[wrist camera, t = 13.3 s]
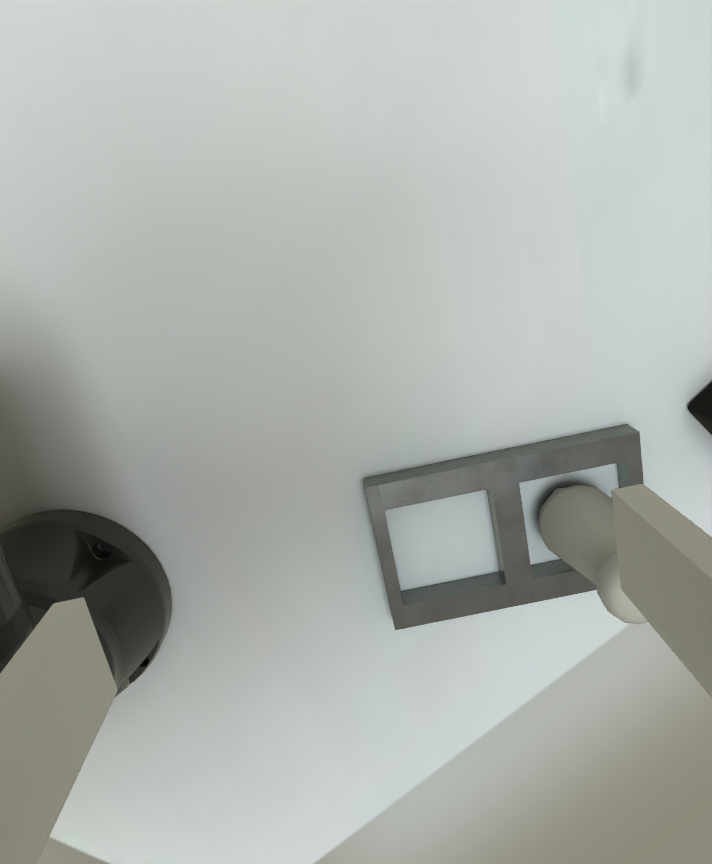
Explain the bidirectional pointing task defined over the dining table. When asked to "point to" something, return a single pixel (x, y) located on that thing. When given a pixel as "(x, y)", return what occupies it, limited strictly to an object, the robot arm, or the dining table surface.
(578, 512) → the salt shaker
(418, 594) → the double window frame
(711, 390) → the battery
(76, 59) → the dining table surface
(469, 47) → the dining table surface
